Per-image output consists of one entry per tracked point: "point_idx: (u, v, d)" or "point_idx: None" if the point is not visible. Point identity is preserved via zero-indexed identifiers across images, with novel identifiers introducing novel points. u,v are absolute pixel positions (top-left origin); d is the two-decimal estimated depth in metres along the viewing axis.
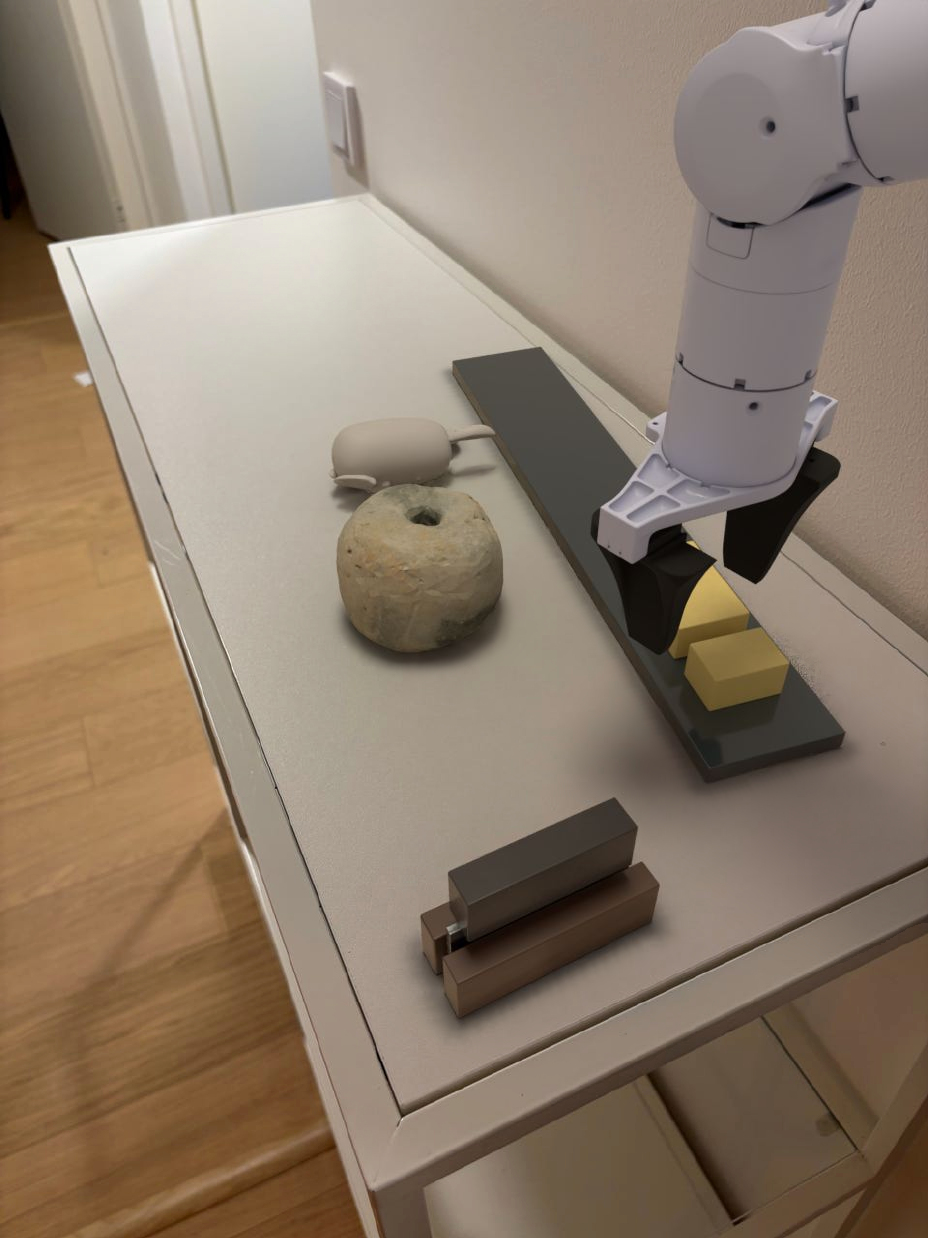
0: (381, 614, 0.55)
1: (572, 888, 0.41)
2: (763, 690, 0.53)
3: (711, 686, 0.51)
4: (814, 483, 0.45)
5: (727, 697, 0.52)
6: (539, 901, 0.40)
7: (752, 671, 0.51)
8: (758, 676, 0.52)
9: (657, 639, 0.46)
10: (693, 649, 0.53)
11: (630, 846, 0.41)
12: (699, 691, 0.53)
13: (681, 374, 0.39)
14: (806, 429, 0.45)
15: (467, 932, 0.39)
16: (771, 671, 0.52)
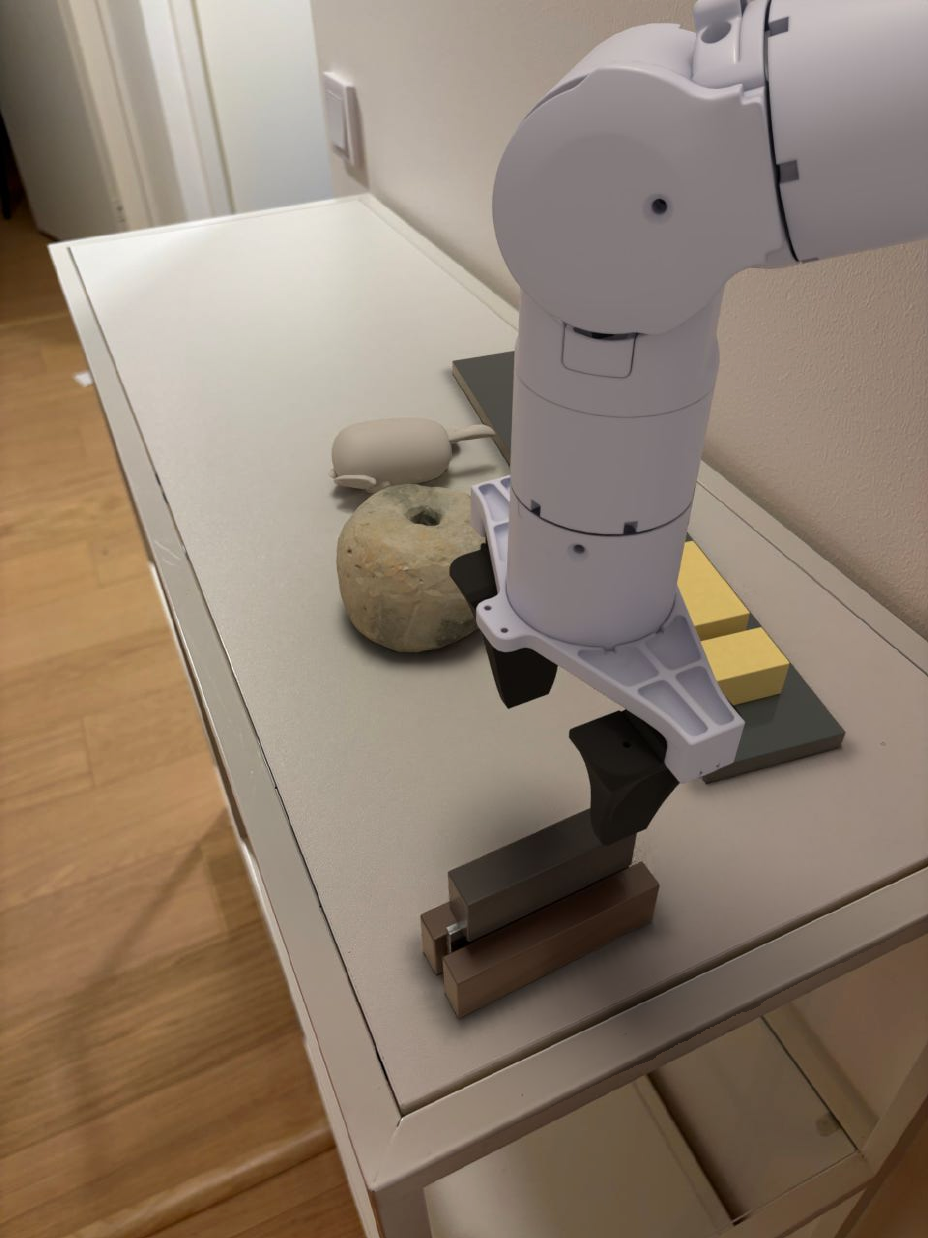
0: (381, 614, 0.55)
1: (572, 888, 0.41)
2: (763, 690, 0.53)
3: None
4: None
5: (727, 697, 0.52)
6: (539, 901, 0.40)
7: (752, 671, 0.51)
8: (758, 676, 0.52)
9: (649, 815, 0.36)
10: None
11: (630, 846, 0.41)
12: None
13: (612, 544, 0.28)
14: None
15: (467, 932, 0.39)
16: (771, 671, 0.52)
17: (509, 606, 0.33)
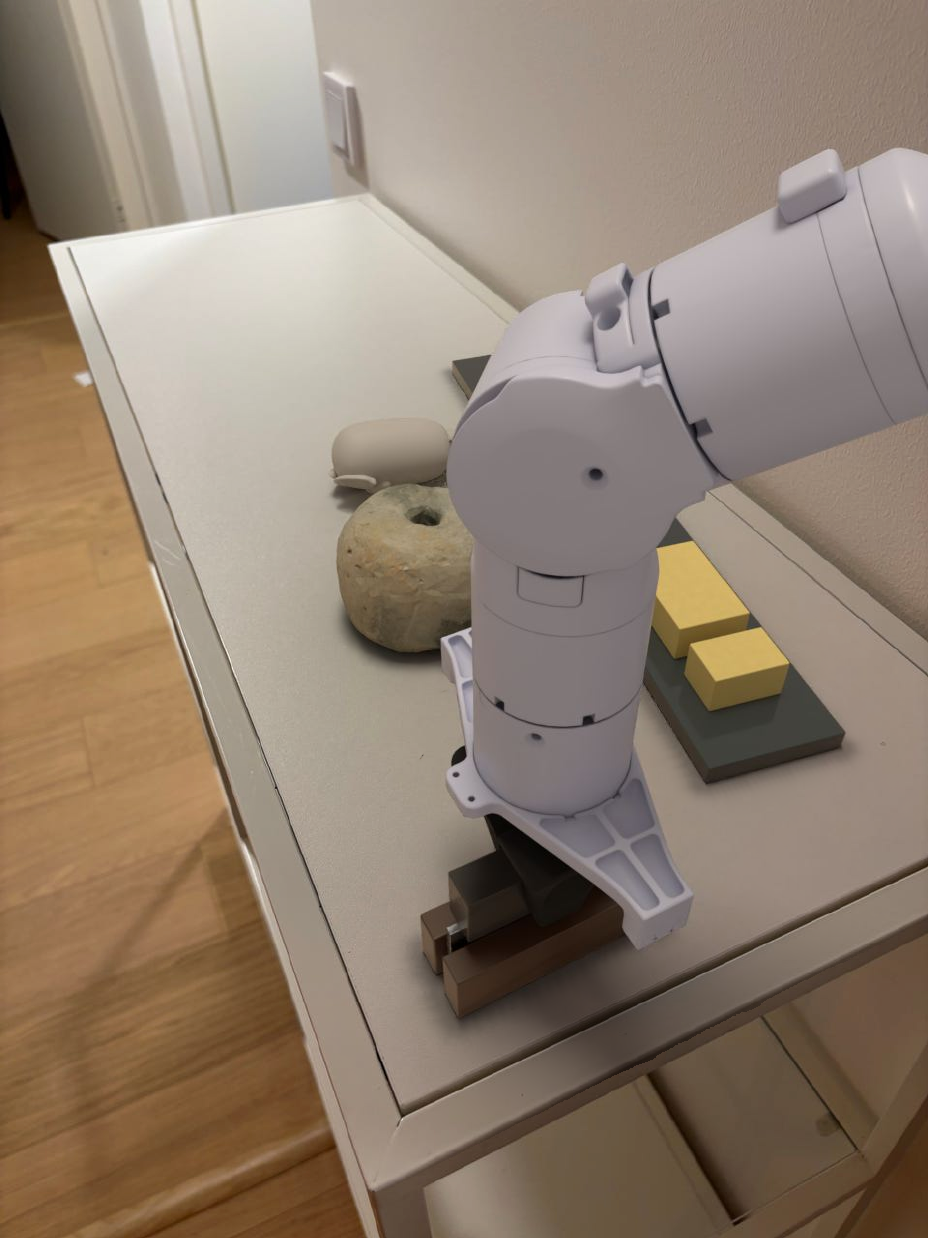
0: (381, 614, 0.55)
1: None
2: (763, 690, 0.53)
3: (711, 686, 0.51)
4: None
5: (727, 697, 0.52)
6: None
7: (752, 671, 0.51)
8: (758, 676, 0.52)
9: (580, 898, 0.40)
10: (693, 649, 0.53)
11: None
12: (699, 691, 0.53)
13: (566, 734, 0.31)
14: None
15: (467, 932, 0.39)
16: (771, 671, 0.52)
17: (476, 772, 0.35)
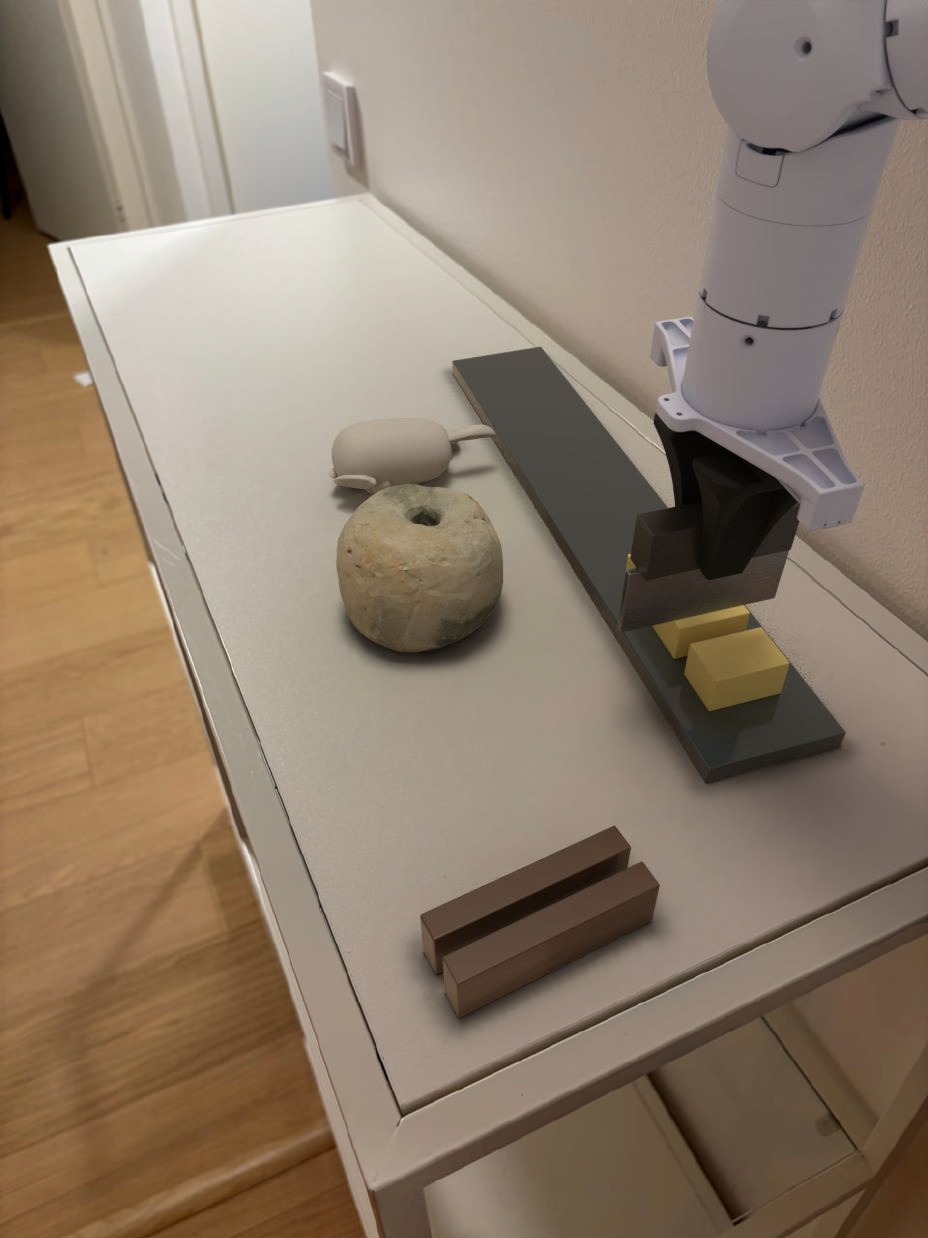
0: (381, 614, 0.55)
1: None
2: (763, 690, 0.53)
3: (711, 686, 0.51)
4: None
5: (727, 697, 0.52)
6: None
7: (752, 671, 0.51)
8: (758, 676, 0.52)
9: (745, 558, 0.47)
10: (693, 649, 0.53)
11: (794, 526, 0.47)
12: (699, 691, 0.53)
13: (776, 336, 0.37)
14: None
15: (646, 569, 0.46)
16: (771, 671, 0.52)
17: (683, 399, 0.42)
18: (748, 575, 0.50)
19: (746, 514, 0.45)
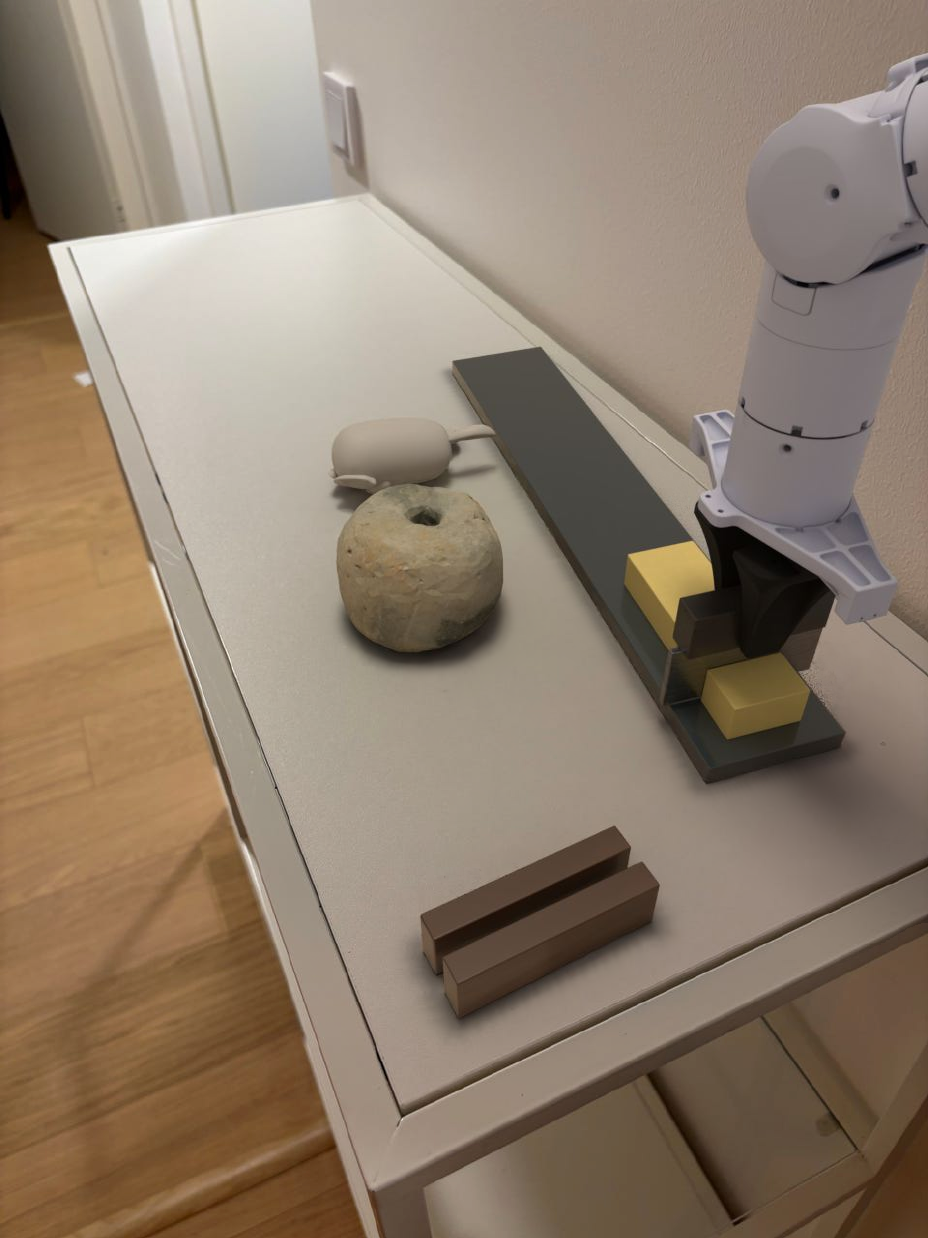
0: (381, 614, 0.55)
1: None
2: (783, 718, 0.51)
3: (730, 714, 0.50)
4: None
5: (746, 725, 0.51)
6: None
7: (771, 699, 0.50)
8: (778, 704, 0.50)
9: (783, 637, 0.49)
10: (711, 675, 0.51)
11: (828, 606, 0.50)
12: (717, 718, 0.52)
13: (813, 445, 0.40)
14: None
15: (688, 649, 0.49)
16: (791, 699, 0.50)
17: (724, 496, 0.44)
18: (784, 650, 0.52)
19: (784, 599, 0.47)
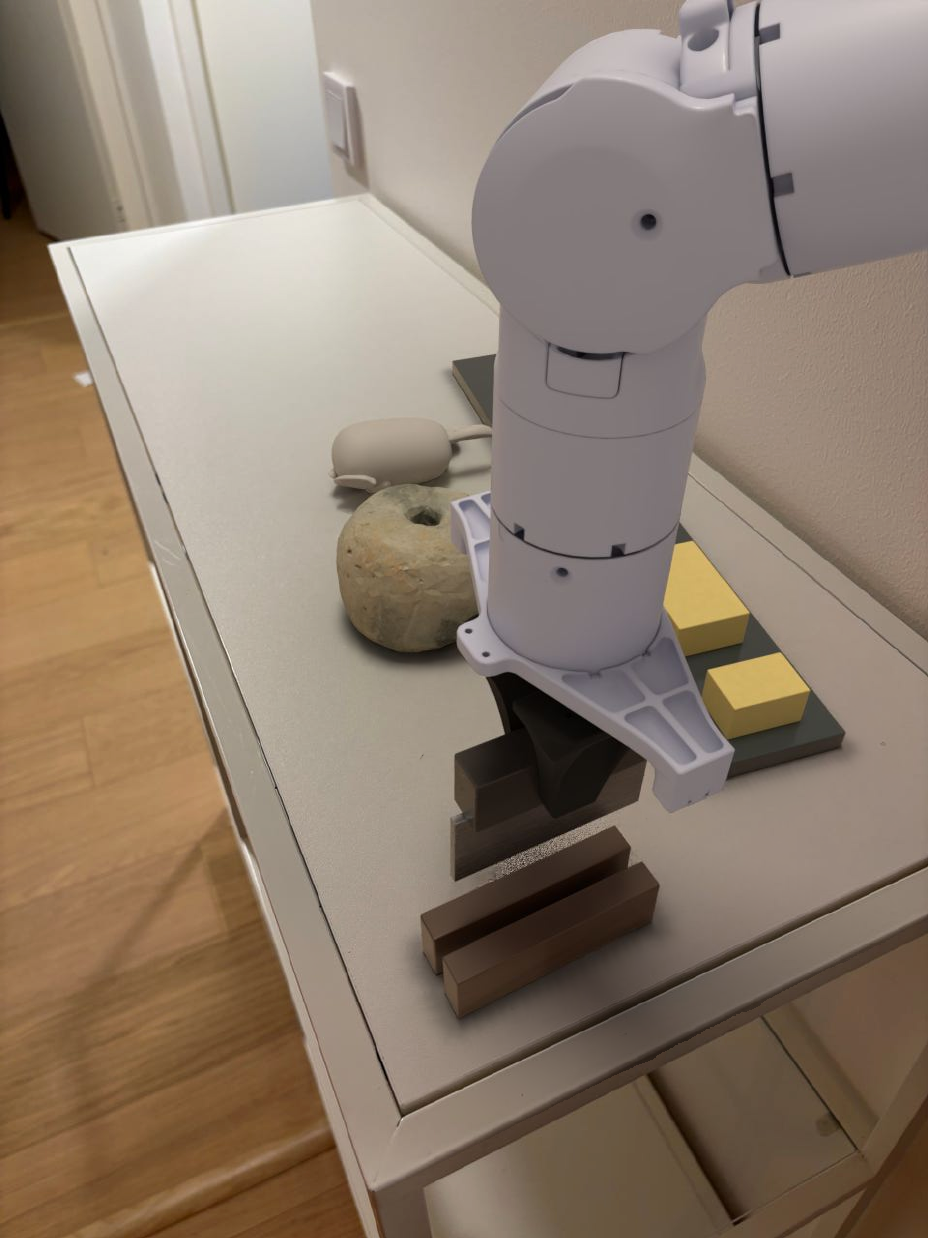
0: (381, 614, 0.55)
1: None
2: (783, 718, 0.51)
3: (730, 714, 0.50)
4: None
5: (746, 725, 0.51)
6: None
7: (771, 699, 0.50)
8: (778, 704, 0.50)
9: (597, 787, 0.37)
10: (711, 675, 0.51)
11: None
12: (717, 718, 0.52)
13: (596, 567, 0.27)
14: None
15: (474, 821, 0.36)
16: (791, 699, 0.50)
17: (491, 629, 0.32)
18: (602, 789, 0.40)
19: (590, 746, 0.35)
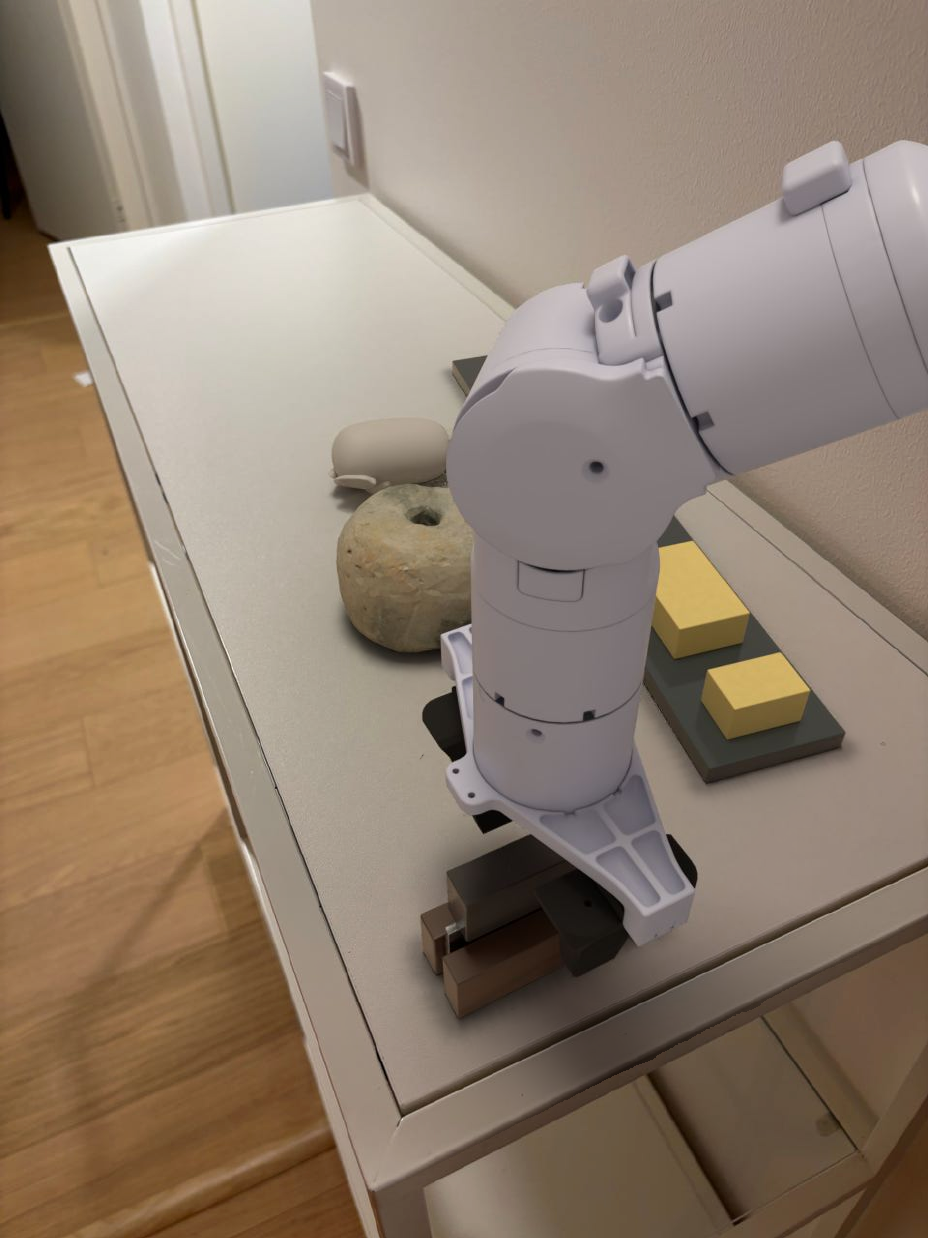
0: (381, 614, 0.55)
1: None
2: (783, 718, 0.51)
3: (730, 714, 0.50)
4: None
5: (746, 725, 0.51)
6: (537, 901, 0.40)
7: (771, 699, 0.50)
8: (778, 704, 0.50)
9: (616, 948, 0.38)
10: (711, 675, 0.51)
11: None
12: (717, 718, 0.52)
13: (566, 730, 0.30)
14: None
15: (465, 932, 0.39)
16: (791, 699, 0.50)
17: (476, 768, 0.35)
18: None
19: None
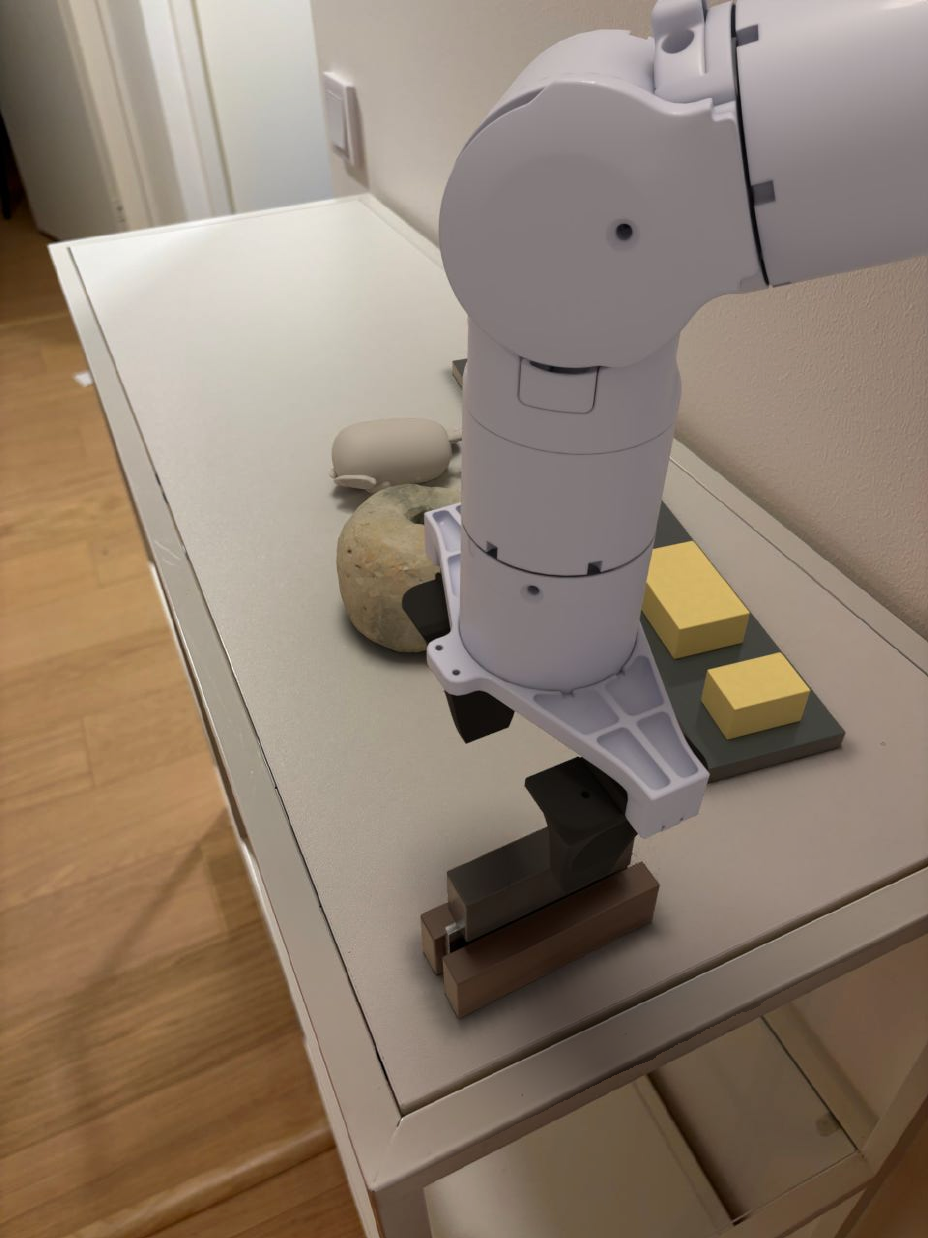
0: (381, 614, 0.55)
1: None
2: (783, 718, 0.51)
3: (730, 714, 0.50)
4: None
5: (746, 725, 0.51)
6: (537, 901, 0.40)
7: (771, 699, 0.50)
8: (778, 704, 0.50)
9: (611, 860, 0.34)
10: (711, 675, 0.51)
11: (629, 846, 0.41)
12: (717, 718, 0.52)
13: (568, 585, 0.27)
14: None
15: (465, 932, 0.39)
16: (791, 699, 0.50)
17: (462, 645, 0.31)
18: None
19: None
